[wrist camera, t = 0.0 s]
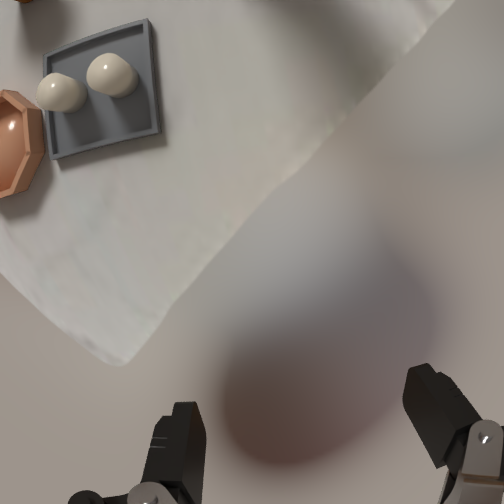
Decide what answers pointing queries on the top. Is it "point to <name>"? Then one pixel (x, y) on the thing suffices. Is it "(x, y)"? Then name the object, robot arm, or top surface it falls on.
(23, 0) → the disposable coffee cup
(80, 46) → the tray
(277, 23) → the top surface
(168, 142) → the top surface
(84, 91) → the pebble
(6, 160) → the terracotta bowl
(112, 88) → the pebble
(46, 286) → the top surface
